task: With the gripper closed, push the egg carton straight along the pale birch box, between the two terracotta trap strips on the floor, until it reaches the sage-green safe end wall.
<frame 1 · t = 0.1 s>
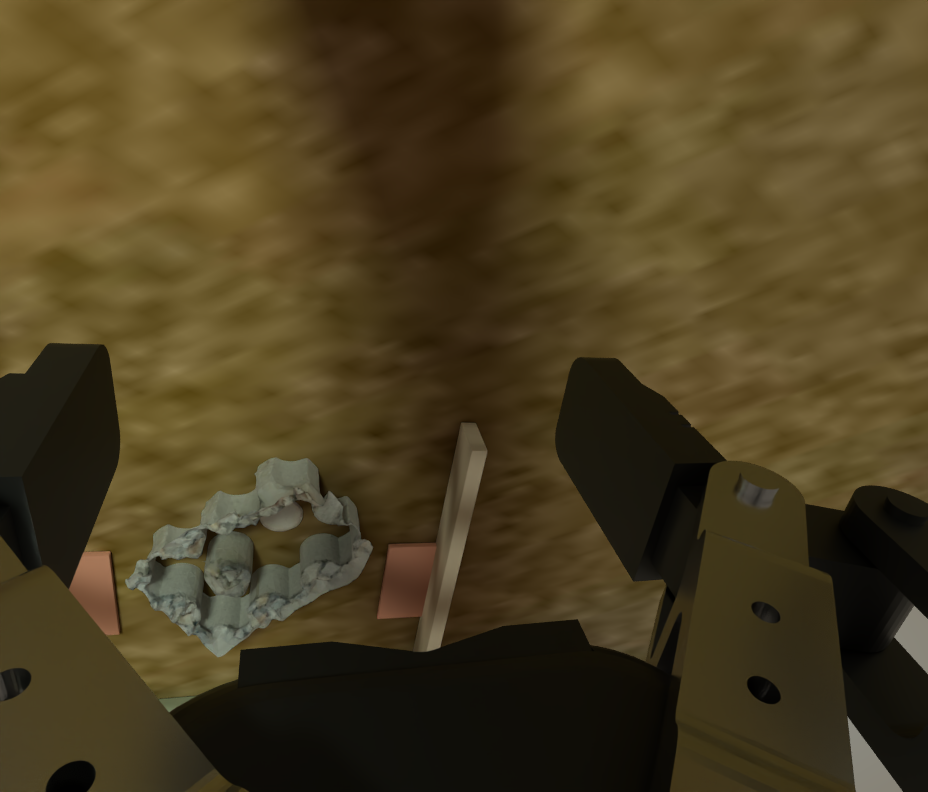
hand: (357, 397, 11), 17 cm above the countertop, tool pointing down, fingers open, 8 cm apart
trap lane: (256, 573, 36), on the countertop
egg carton: (258, 527, 35), on the countertop
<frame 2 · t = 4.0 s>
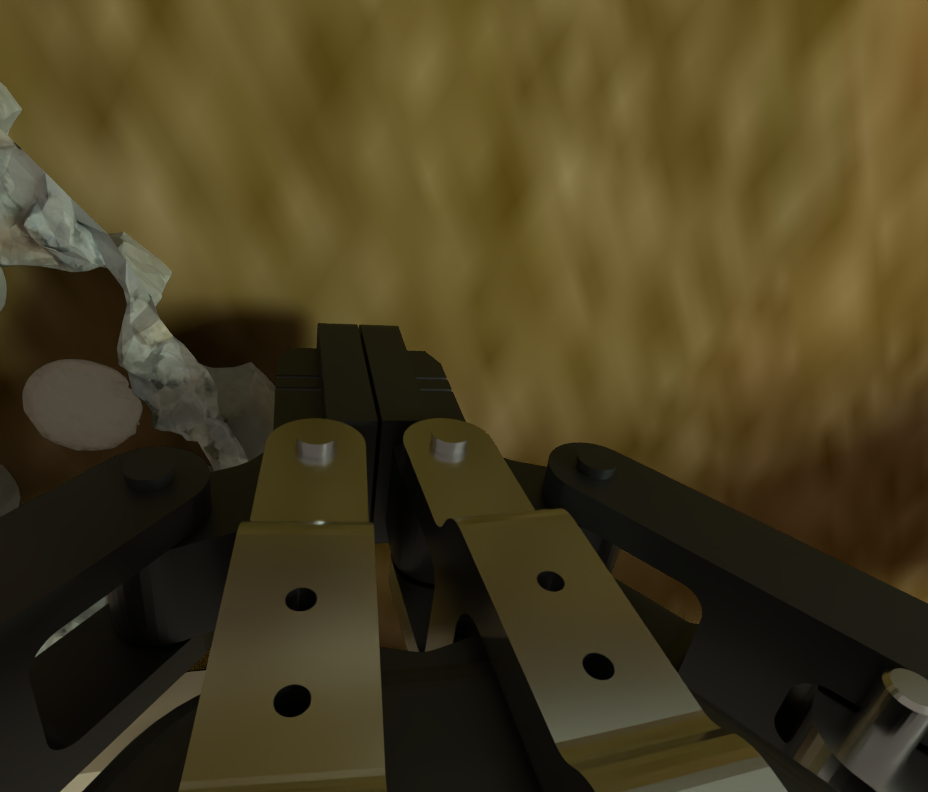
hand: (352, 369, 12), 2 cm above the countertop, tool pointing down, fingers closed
egg carton: (15, 339, 13), on the countertop
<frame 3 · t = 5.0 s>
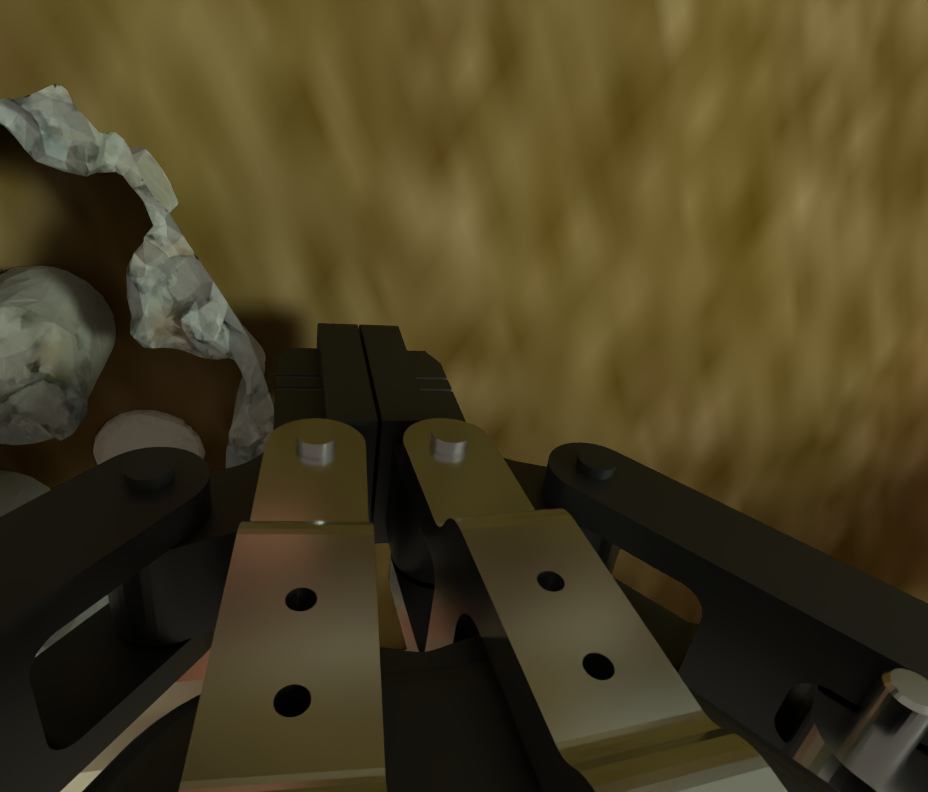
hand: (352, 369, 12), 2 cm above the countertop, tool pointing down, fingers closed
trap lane: (212, 336, 13), on the countertop
egg carton: (100, 386, 14), on the countertop, touching gripper
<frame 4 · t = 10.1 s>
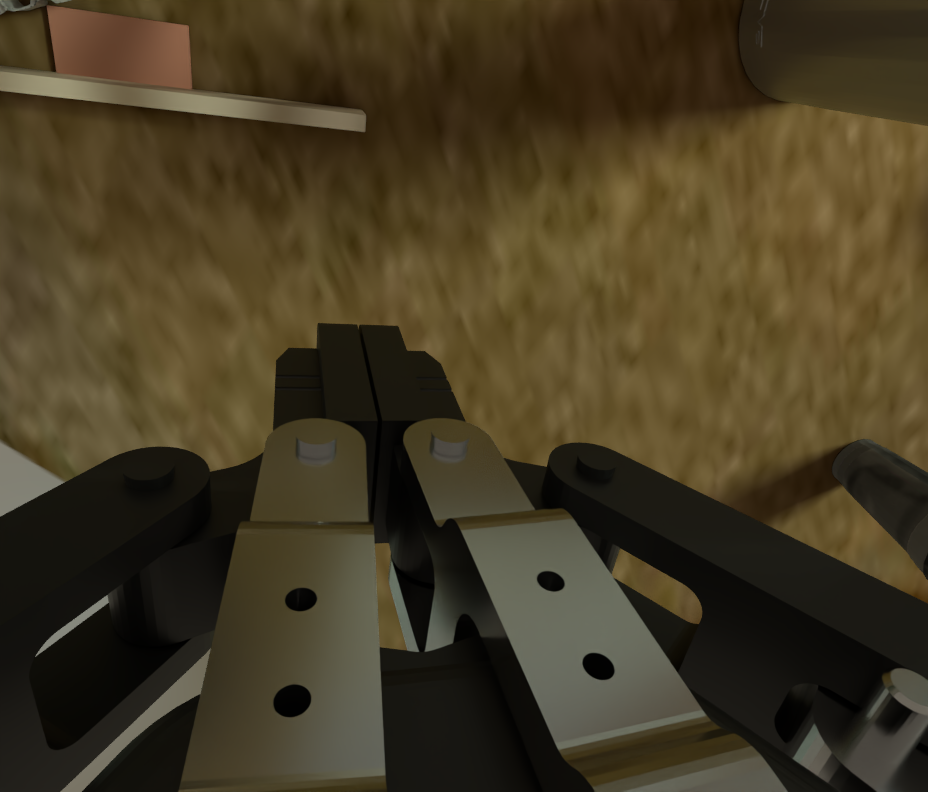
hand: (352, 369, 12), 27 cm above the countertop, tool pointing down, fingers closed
beverage cup: (853, 458, 58), on the countertop
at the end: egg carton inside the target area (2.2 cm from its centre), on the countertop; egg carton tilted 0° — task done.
